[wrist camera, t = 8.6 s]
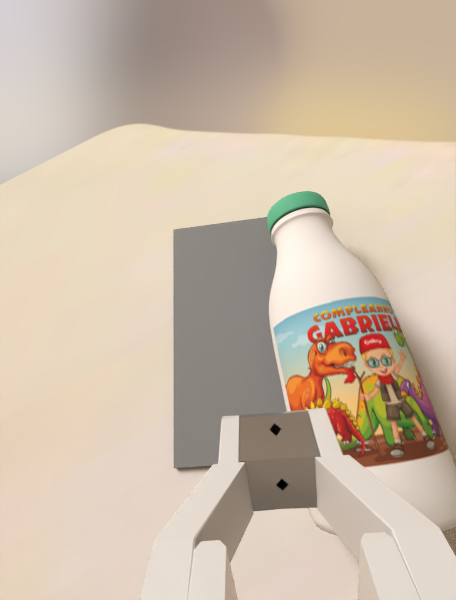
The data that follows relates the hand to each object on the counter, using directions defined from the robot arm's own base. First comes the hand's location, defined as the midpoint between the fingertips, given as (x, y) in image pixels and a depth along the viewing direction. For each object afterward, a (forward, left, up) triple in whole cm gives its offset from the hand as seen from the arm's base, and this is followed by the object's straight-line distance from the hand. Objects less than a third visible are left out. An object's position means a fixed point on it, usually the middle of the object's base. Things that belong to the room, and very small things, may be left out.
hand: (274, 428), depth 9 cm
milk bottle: (+6, -3, -10) cm, 12 cm away
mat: (-2, +8, -14) cm, 16 cm away
